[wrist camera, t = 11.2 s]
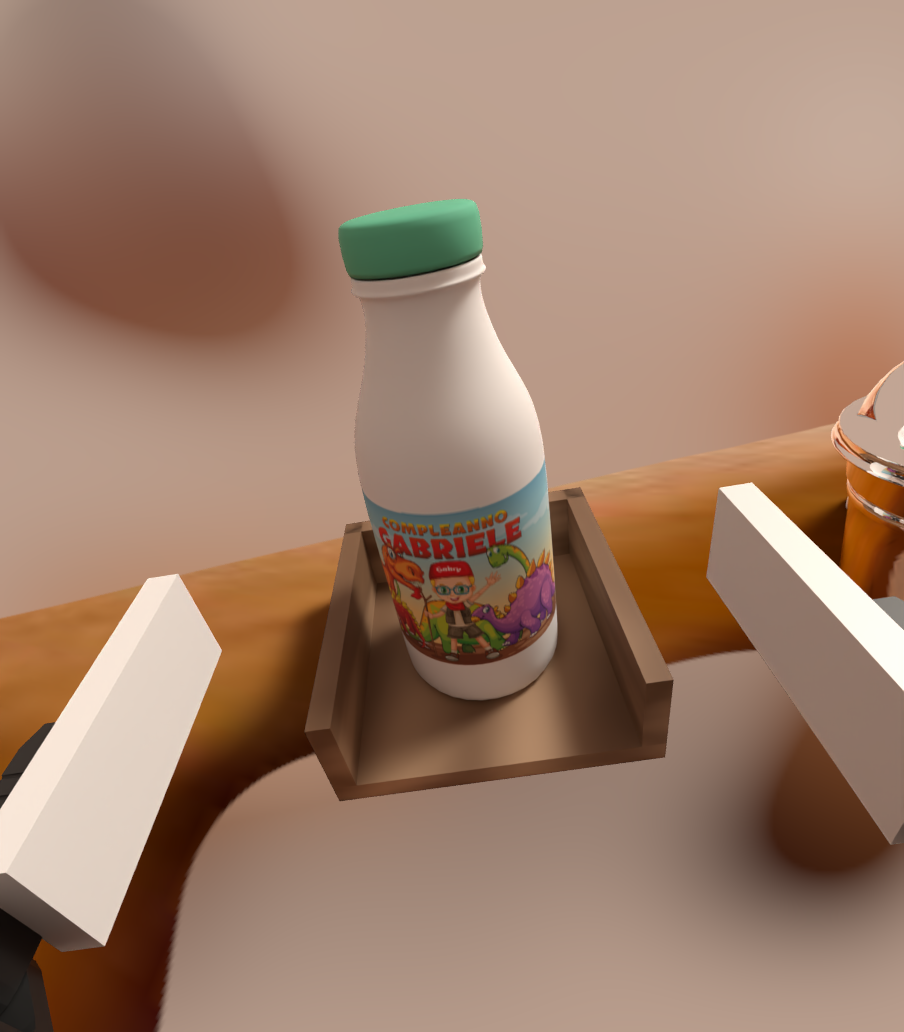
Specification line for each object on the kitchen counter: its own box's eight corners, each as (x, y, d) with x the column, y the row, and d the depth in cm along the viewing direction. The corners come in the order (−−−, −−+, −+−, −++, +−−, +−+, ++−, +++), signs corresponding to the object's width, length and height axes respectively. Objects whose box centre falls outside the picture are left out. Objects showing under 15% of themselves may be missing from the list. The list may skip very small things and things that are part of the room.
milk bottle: (406, 608, 31) (298, 221, 20) (536, 580, 32) (499, 182, 20) (416, 722, 25) (267, 246, 14) (579, 686, 25) (560, 190, 14)
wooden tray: (339, 801, 23) (304, 732, 21) (368, 575, 36) (348, 513, 33) (665, 757, 23) (673, 679, 20) (577, 542, 35) (575, 477, 33)
